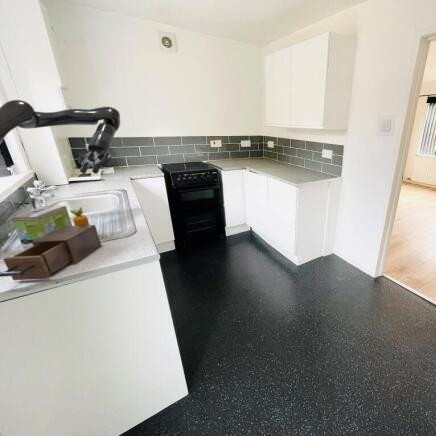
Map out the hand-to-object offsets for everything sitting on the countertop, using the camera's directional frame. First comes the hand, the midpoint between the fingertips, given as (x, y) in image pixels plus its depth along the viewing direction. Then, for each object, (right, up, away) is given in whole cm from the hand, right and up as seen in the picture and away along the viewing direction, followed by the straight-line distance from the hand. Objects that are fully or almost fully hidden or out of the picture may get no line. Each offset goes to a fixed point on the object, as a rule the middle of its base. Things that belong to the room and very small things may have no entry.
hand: (88, 172), depth 109 cm
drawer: (+7, -39, -27) cm, 48 cm away
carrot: (0, -30, -1) cm, 30 cm away
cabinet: (+6, -35, -14) cm, 38 cm away
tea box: (-13, -31, -3) cm, 34 cm away
